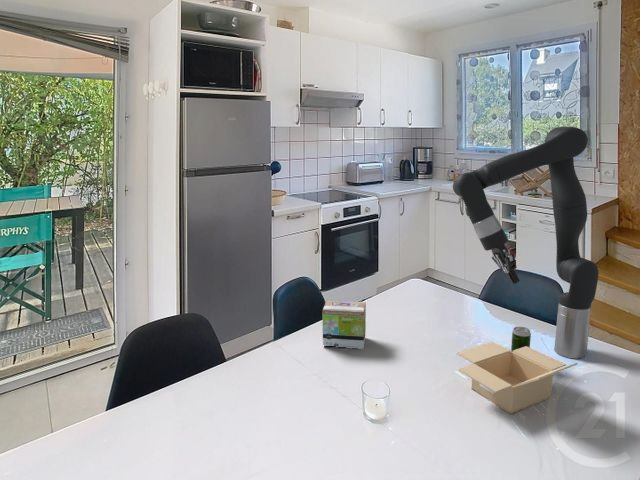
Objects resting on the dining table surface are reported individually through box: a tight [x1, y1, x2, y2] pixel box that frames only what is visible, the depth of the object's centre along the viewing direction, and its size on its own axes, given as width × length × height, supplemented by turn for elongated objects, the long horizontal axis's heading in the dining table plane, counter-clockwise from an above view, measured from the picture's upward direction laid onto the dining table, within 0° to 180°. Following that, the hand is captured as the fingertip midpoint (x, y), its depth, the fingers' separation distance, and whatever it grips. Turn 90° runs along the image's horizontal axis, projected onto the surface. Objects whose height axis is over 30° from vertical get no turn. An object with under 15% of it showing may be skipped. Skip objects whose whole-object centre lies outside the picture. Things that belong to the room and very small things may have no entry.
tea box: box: [321, 299, 367, 350], centre depth 158 cm, size 15×10×15 cm, turn 81°
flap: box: [515, 362, 578, 387], centre depth 113 cm, size 15×1×8 cm
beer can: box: [510, 326, 532, 352], centre depth 139 cm, size 5×5×12 cm
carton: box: [456, 341, 567, 415], centre depth 127 cm, size 28×21×8 cm
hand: (515, 282), depth 133 cm, fingers closed
